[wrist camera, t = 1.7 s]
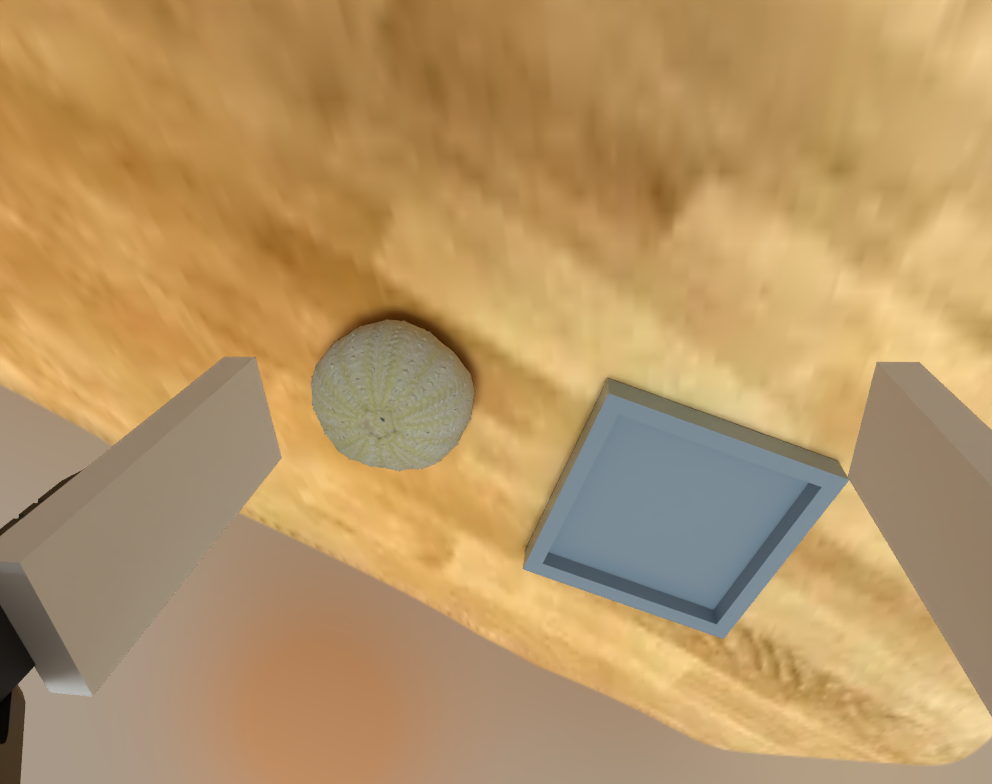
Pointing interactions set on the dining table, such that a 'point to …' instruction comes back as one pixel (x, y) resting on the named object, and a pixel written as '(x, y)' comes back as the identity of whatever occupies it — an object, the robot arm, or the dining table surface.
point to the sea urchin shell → (392, 396)
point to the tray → (678, 510)
